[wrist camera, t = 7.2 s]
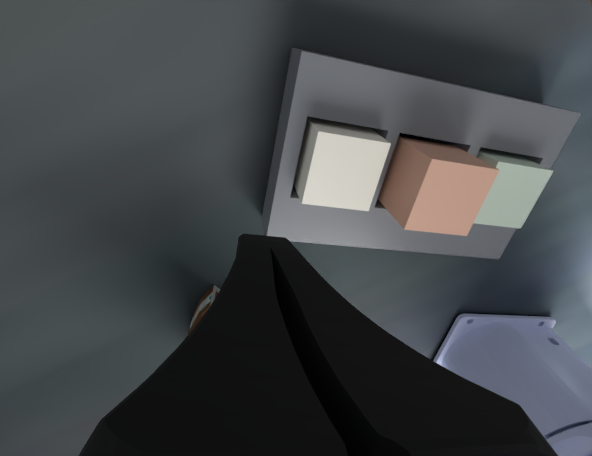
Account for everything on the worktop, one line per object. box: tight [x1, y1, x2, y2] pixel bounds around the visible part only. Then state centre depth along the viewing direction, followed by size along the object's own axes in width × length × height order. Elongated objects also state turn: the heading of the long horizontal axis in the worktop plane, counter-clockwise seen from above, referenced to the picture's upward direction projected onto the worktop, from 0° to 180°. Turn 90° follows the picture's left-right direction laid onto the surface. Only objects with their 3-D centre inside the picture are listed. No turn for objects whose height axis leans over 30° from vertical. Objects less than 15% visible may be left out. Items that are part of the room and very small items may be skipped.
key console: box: [262, 47, 581, 259], centre depth 19 cm, size 15×9×2 cm, turn 78°
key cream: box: [293, 116, 391, 211], centre depth 18 cm, size 3×3×4 cm
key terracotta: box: [377, 136, 499, 236], centre depth 17 cm, size 3×3×4 cm
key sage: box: [474, 147, 553, 229], centre depth 20 cm, size 3×3×4 cm
